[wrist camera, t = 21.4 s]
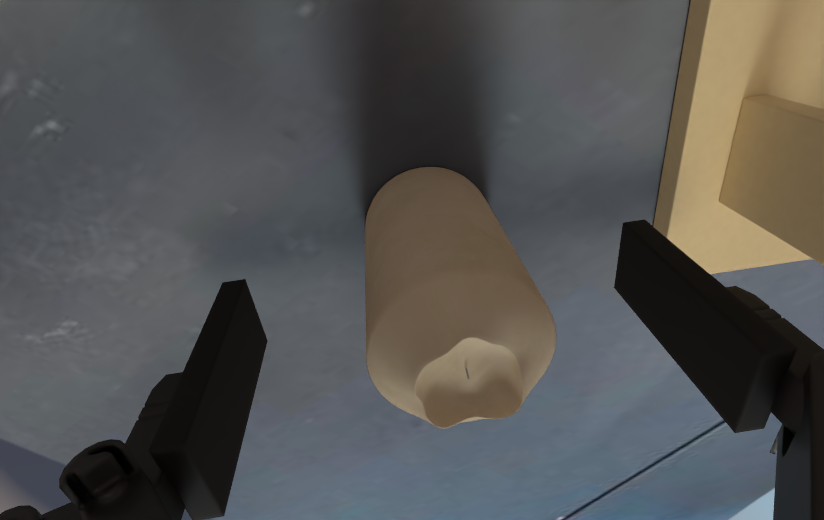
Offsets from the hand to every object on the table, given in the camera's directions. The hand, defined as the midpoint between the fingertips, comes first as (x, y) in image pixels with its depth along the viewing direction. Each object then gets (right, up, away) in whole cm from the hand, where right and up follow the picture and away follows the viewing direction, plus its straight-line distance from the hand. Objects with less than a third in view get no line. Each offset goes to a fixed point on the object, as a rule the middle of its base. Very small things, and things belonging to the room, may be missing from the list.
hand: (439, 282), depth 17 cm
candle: (0, +3, +4) cm, 5 cm away
